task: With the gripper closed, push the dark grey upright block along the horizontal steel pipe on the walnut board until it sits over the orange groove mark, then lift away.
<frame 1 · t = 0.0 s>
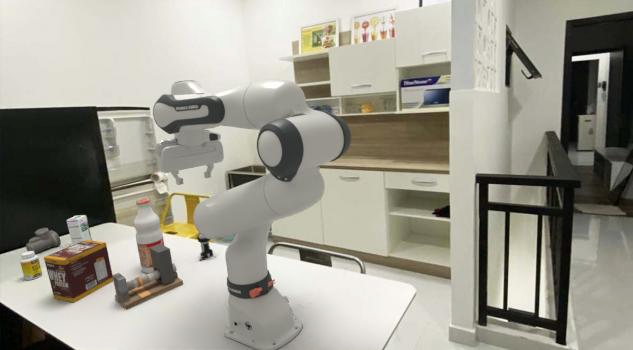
hand: (194, 180, 108), 39 cm above the table, fingers open, 8 cm apart
push button: (205, 258, 145), on the table
pipe fitting: (44, 250, 165), on the table
pipe rig: (150, 291, 121), on the table
fruit juice: (155, 268, 139), on the table
supplement box: (85, 289, 125), on the table
syrup box: (83, 246, 167), on the table
supplement bottle: (34, 277, 138), on the table
dark grey upright block: (162, 264, 123), point 8 cm above the table, slide at 0.0 cm
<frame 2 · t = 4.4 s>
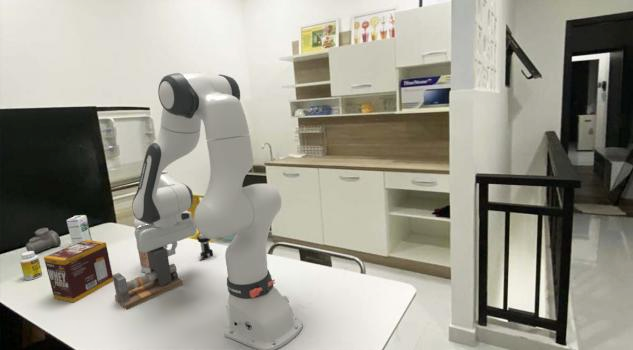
hand: (170, 254, 125), 10 cm above the table, fingers closed
dark grey upright block: (159, 265, 122), point 8 cm above the table, slide at 1.1 cm, touching gripper
everything else where it was.
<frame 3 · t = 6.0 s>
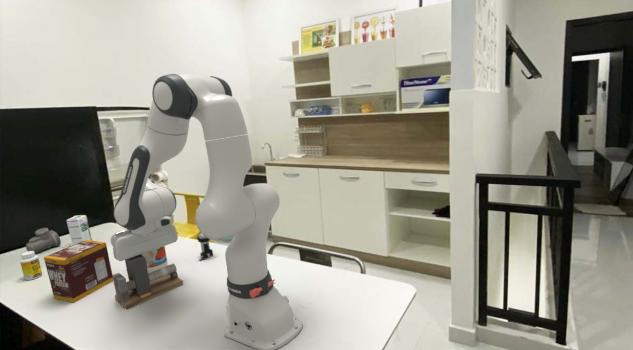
hand: (150, 262, 120), 10 cm above the table, fingers closed
dark grey upright block: (137, 273, 117), point 8 cm above the table, slide at 8.4 cm, touching gripper
everything else where it was.
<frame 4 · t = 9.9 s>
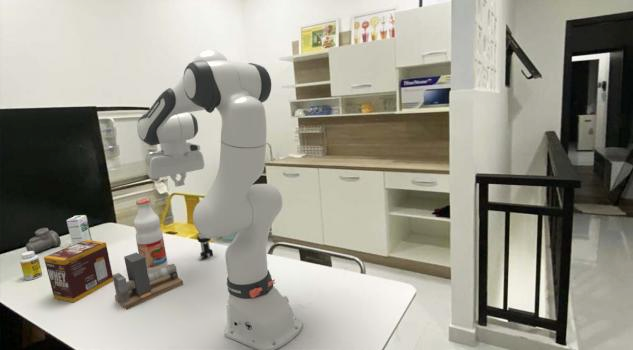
hand: (179, 185, 129), 33 cm above the table, fingers closed
dark grey upright block: (137, 273, 117), point 8 cm above the table, slide at 8.4 cm
everything else where it was.
at the end: dark grey upright block slide at 8.4 cm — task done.
